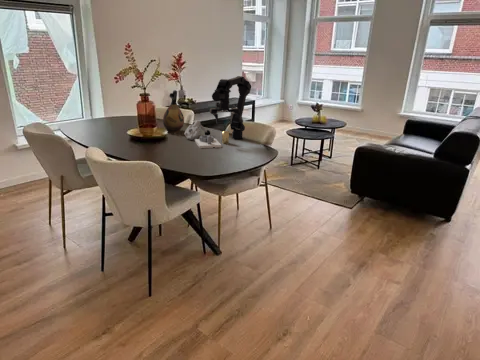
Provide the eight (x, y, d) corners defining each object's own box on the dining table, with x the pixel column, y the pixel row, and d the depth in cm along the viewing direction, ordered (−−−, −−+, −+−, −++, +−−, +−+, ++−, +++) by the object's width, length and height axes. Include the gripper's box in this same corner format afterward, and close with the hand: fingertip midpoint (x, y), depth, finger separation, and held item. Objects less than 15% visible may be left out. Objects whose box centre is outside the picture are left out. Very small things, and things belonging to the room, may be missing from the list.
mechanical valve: (181, 134, 235) (192, 117, 238) (195, 147, 250) (205, 130, 253) (191, 138, 230) (202, 120, 232) (205, 151, 244) (215, 133, 247)
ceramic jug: (182, 134, 249) (181, 92, 239) (161, 133, 249) (159, 91, 239) (186, 129, 265) (185, 89, 255) (166, 128, 265) (164, 88, 255)
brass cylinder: (227, 142, 232) (228, 130, 229) (229, 144, 227) (229, 132, 225) (221, 142, 230) (221, 131, 227) (222, 144, 226) (223, 132, 223)
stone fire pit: (215, 140, 235) (215, 131, 233) (221, 147, 219) (221, 137, 217) (194, 141, 231) (194, 131, 229) (199, 148, 215) (199, 138, 213)
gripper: (235, 98, 229) (234, 121, 234) (207, 98, 224) (207, 121, 229) (240, 100, 219) (239, 124, 224) (211, 100, 214) (211, 125, 219)
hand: (224, 124), depth 225 cm, fingers open, 9 cm apart
